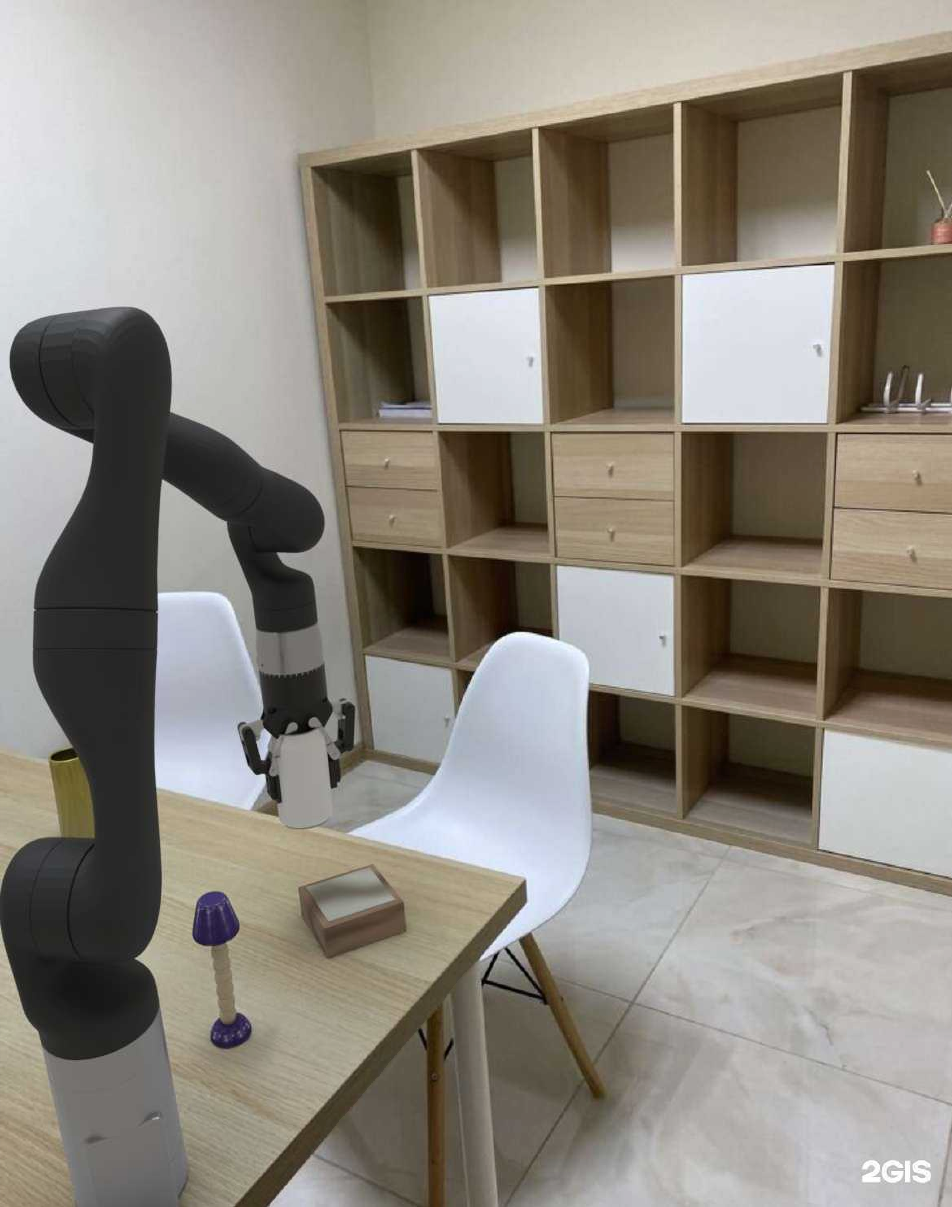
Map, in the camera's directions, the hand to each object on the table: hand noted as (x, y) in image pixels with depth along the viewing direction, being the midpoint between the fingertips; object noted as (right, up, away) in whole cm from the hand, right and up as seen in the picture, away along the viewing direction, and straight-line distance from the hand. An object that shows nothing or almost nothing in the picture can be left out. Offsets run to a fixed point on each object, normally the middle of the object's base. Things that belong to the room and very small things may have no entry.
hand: (305, 792), depth 115 cm
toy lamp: (-5, -23, -15) cm, 28 cm away
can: (0, -3, +1) cm, 3 cm away
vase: (-37, -13, +26) cm, 47 cm away
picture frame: (+5, -17, +3) cm, 18 cm away
